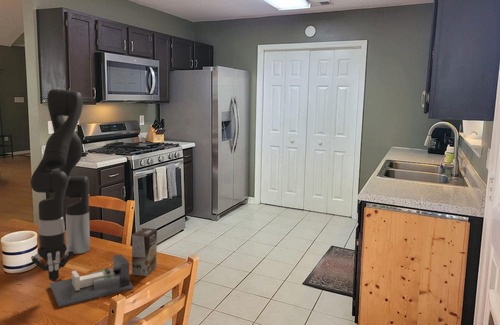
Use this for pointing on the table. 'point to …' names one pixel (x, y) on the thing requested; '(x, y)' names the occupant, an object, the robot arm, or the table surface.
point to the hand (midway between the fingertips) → (53, 280)
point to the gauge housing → (94, 285)
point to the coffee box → (144, 251)
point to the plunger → (88, 278)
